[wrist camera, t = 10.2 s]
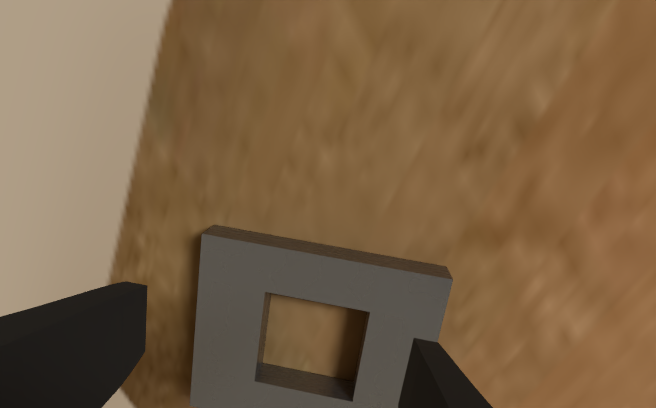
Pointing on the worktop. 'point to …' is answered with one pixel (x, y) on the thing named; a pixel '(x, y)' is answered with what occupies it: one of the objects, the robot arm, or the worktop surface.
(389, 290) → the socket plate
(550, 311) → the worktop surface
